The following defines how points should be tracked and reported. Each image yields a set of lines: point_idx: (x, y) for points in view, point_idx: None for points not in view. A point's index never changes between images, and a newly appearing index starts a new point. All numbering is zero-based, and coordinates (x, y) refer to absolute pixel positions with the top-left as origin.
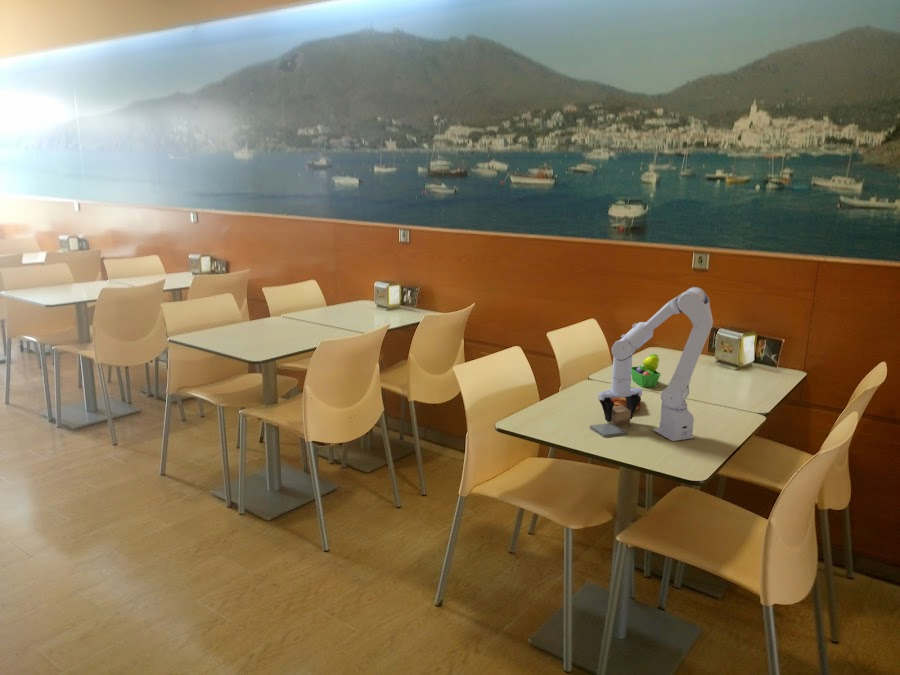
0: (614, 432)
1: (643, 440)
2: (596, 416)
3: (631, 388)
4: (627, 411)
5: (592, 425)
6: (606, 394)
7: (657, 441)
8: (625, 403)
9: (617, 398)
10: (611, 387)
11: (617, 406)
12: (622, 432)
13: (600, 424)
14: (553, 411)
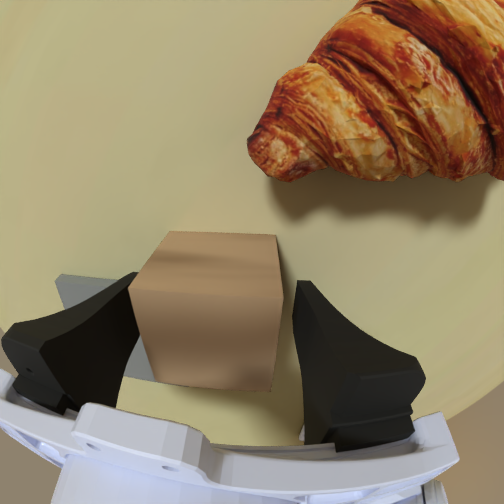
0: (134, 373)
1: (220, 417)
2: (155, 114)
3: (394, 483)
4: (242, 387)
5: (64, 284)
6: (34, 449)
7: (259, 429)
8: (423, 155)
9: (405, 72)
10: (57, 496)
11: (224, 305)
12: (166, 383)
13: (100, 289)
14: (17, 26)
